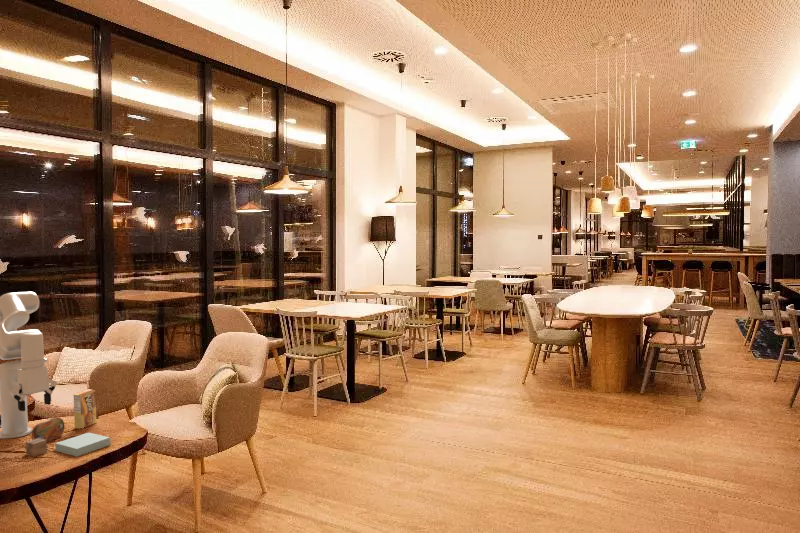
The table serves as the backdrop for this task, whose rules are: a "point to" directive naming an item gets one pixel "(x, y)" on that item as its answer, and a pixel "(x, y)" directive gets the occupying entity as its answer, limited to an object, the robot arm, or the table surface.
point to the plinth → (82, 444)
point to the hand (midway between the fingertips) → (35, 407)
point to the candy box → (84, 408)
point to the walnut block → (36, 447)
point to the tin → (48, 429)
